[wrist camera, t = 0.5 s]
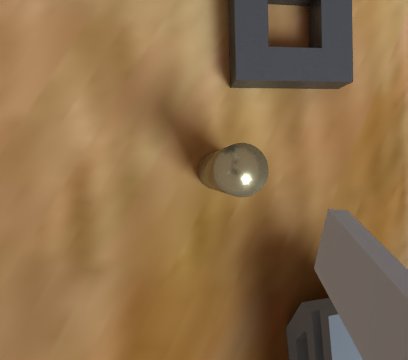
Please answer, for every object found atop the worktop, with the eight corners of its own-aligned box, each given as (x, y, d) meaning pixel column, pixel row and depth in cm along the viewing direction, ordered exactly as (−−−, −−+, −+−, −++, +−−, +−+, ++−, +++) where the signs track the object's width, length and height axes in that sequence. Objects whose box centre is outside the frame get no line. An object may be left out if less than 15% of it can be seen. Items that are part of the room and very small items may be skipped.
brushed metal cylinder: (197, 153, 36) (214, 143, 24) (233, 152, 37) (267, 142, 25) (198, 189, 36) (216, 198, 24) (234, 188, 37) (268, 196, 25)
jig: (226, -65, 36) (232, -87, 33) (335, -56, 38) (350, -76, 35) (230, 87, 36) (236, 80, 33) (338, 88, 38) (353, 81, 35)
